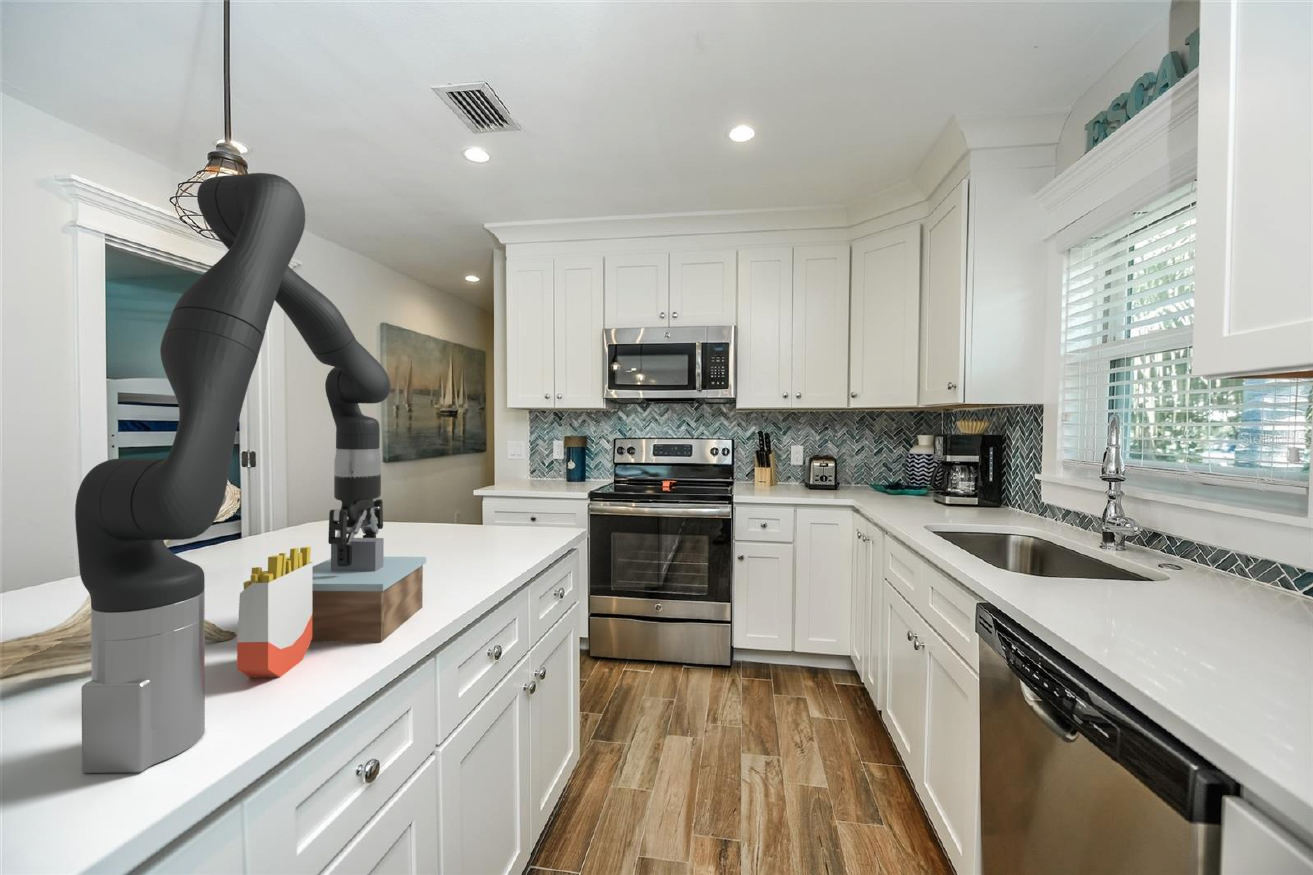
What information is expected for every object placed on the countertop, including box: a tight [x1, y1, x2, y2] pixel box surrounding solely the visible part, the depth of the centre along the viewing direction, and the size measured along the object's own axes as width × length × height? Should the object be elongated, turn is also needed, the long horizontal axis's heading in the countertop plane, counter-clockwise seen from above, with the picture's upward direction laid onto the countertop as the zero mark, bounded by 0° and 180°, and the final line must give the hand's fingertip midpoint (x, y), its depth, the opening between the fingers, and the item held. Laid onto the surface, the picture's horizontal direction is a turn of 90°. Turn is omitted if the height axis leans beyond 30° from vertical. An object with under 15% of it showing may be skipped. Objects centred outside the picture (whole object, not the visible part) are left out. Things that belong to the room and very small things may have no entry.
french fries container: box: [236, 546, 313, 679], centre depth 78 cm, size 5×11×18 cm, turn 5°
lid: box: [312, 537, 427, 591], centre depth 96 cm, size 18×18×8 cm
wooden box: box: [310, 565, 424, 643], centre depth 96 cm, size 17×17×9 cm
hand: (357, 559), depth 96 cm, fingers open, 8 cm apart
